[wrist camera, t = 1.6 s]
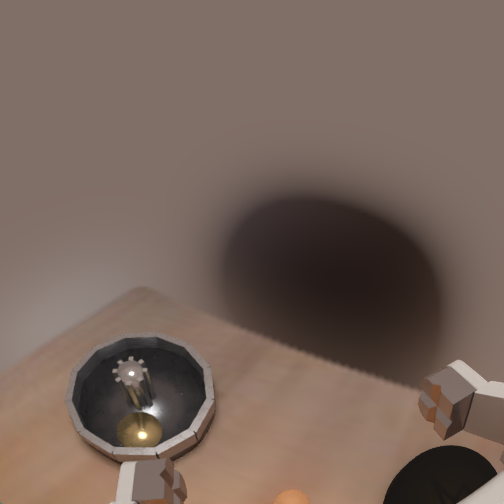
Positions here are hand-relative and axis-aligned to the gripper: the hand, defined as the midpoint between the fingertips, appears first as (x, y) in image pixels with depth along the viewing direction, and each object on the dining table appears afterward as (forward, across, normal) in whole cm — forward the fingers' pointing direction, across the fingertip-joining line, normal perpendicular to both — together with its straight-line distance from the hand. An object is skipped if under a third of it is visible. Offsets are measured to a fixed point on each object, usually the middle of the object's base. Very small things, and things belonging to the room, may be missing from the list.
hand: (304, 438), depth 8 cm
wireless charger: (+5, -16, +34) cm, 38 cm away
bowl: (+28, +17, +19) cm, 38 cm away
